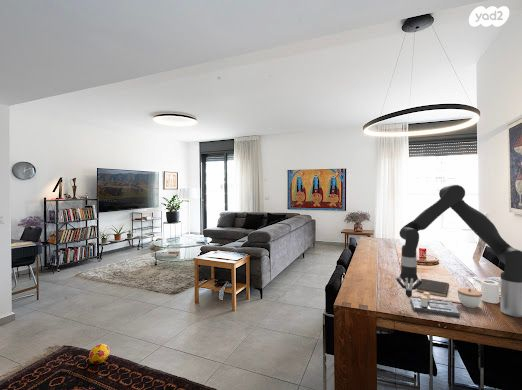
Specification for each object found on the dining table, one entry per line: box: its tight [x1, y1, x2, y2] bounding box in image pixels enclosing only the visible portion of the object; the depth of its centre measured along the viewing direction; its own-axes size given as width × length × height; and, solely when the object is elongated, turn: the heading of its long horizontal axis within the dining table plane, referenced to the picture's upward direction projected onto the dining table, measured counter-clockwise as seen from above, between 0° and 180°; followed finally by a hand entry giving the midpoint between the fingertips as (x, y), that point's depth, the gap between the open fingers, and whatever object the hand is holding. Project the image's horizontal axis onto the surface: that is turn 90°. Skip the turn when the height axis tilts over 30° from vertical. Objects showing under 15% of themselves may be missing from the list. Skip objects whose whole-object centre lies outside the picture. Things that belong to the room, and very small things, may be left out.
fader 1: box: [422, 292, 431, 302], centre depth 151 cm, size 2×3×4 cm
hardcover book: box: [415, 278, 450, 298], centre depth 177 cm, size 16×23×2 cm
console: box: [410, 297, 461, 318], centre depth 147 cm, size 20×14×2 cm
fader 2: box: [420, 295, 427, 307], centre depth 145 cm, size 2×3×4 cm
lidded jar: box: [457, 287, 483, 309], centre depth 150 cm, size 11×11×9 cm
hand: (408, 296), depth 148 cm, fingers closed
